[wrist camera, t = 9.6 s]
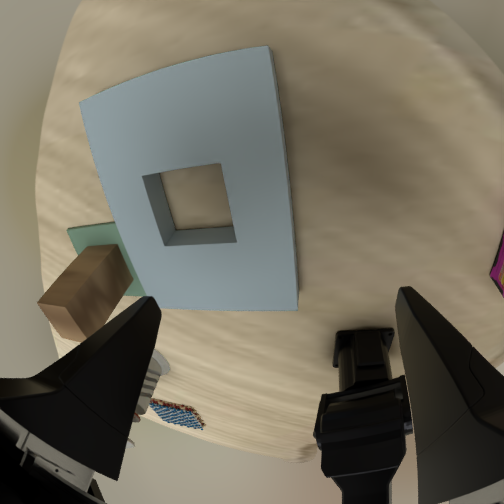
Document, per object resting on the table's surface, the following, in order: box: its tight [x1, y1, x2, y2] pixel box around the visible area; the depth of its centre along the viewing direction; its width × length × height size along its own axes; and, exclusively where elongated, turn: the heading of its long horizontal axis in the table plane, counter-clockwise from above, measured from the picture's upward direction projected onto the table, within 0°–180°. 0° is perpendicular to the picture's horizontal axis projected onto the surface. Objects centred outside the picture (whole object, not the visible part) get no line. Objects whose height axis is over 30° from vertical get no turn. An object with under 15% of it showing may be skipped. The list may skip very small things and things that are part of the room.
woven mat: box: [149, 398, 206, 430], centre depth 49 cm, size 10×11×2 cm
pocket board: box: [79, 45, 299, 311], centre depth 20 cm, size 20×14×2 cm
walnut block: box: [37, 244, 133, 343], centre depth 23 cm, size 4×4×9 cm
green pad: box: [67, 222, 147, 296], centre depth 27 cm, size 9×9×1 cm
